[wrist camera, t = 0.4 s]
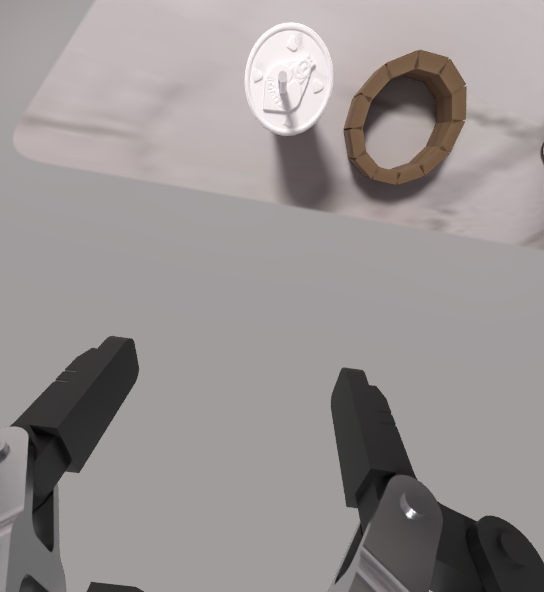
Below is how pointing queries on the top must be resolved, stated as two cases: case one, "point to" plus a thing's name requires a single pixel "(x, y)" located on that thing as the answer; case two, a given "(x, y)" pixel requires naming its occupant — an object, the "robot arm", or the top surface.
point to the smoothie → (288, 79)
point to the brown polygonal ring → (448, 114)
